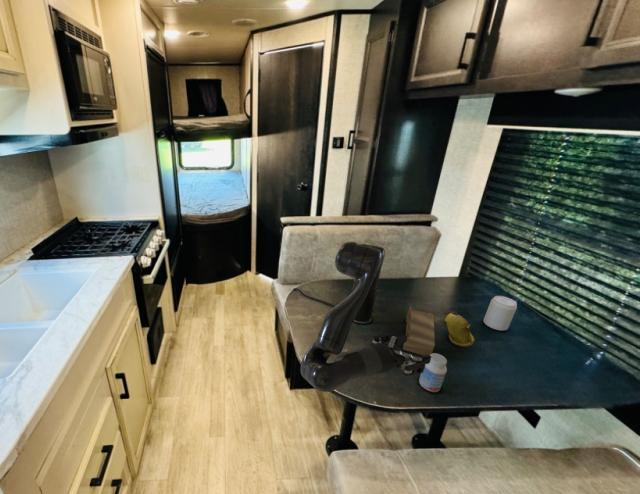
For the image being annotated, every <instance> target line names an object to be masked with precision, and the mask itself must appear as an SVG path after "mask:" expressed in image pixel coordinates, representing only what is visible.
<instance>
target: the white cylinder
mask: <svg viewBox="0 0 640 494" xmlns="http://www.w3.org/2000/svg"><path fill="white" fill-rule="evenodd" d="M517 305H518V304H517V302H516V301H515V300H514V299H512V298H510V297H507V296H503V295H495V296H494V297H493V298H491V299H490V303H489V305H488V308H487V310H486V313H485V315H484V318H483V323H484V324H485V325H486V326H487V327H489V328H491V329H493V330H497V331H502V332H503V331H508V329H509V327H510V325H511V323H512V320H513V319H514V316H515V314H516V312H517V309H518V306H517Z"/></svg>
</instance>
